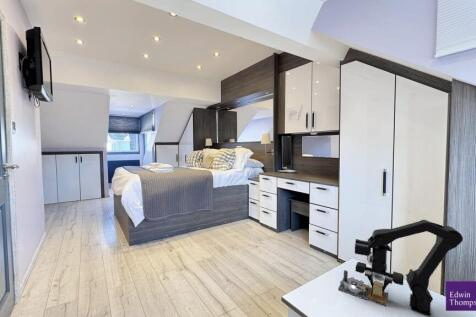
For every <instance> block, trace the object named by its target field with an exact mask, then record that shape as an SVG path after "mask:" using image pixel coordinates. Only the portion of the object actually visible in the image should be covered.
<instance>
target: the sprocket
mask: <svg viewBox="0 0 476 317" xmlns="http://www.w3.org/2000/svg"><path fill="white" fill-rule="evenodd" d="M348 273H349V272H348V270H343V277H342V280H343V281H342V280H340V281H339V285H340V284H341V285H343V286H344V289H345V290H346V291H347V290H349V291H352V292H354V294H357V293H363V294H367V291H366V290H368V286H366V285H367V284H366V285H364V284H365V283H364V282H365V281H363V280H359V279H356V278H355V277H353V276H351V277H348V276H349V275H348ZM368 291H369V290H368ZM367 295H368V294H367Z"/></svg>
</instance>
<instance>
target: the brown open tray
mask: <svg viewBox="0 0 476 317" xmlns="http://www.w3.org/2000/svg"><path fill="white" fill-rule="evenodd" d="M388 295H389V293H388V292H387V291H384V292H383V293H382V297H381V296H378V295H375V294H373V289H372V286H371V287H370V286H369V290H368V294H367V297H366V300H367V301H370V302H373V303H375V304H378V305H381V306H384V307H387V304H388V303H387V302H388V297H389V296H388Z"/></svg>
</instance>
